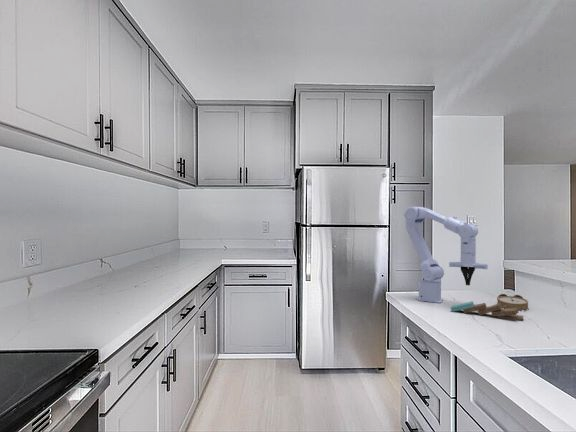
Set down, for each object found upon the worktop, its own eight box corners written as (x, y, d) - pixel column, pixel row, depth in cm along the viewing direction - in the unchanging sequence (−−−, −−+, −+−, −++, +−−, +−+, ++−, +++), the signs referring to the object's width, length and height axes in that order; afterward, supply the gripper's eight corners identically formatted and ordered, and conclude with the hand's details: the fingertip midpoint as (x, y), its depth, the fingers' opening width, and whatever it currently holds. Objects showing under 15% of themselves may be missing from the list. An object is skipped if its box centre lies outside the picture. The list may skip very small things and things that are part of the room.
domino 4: (498, 315, 141) (523, 318, 136) (498, 312, 144) (523, 315, 140) (498, 319, 141) (523, 323, 136) (498, 317, 144) (523, 320, 140)
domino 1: (462, 309, 147) (483, 304, 143) (464, 307, 151) (485, 302, 147) (464, 313, 147) (485, 309, 143) (465, 311, 151) (486, 306, 146)
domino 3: (491, 312, 141) (514, 310, 136) (494, 309, 145) (517, 307, 139) (492, 316, 141) (515, 315, 136) (495, 313, 144) (518, 312, 139)
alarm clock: (499, 302, 153) (494, 289, 167) (499, 314, 154) (494, 300, 168) (531, 305, 149) (523, 291, 163) (530, 316, 150) (523, 302, 164)
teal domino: (450, 307, 150) (471, 303, 146) (452, 305, 153) (472, 301, 149) (452, 311, 149) (472, 307, 145) (454, 309, 153) (474, 305, 149)
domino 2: (477, 311, 144) (498, 305, 140) (479, 309, 148) (500, 303, 143) (479, 315, 144) (500, 309, 139) (481, 313, 147) (502, 307, 143)
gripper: (448, 252, 157) (448, 284, 157) (486, 254, 150) (486, 288, 150) (450, 251, 163) (450, 282, 163) (487, 253, 156) (487, 285, 156)
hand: (467, 285), depth 157 cm, fingers closed
